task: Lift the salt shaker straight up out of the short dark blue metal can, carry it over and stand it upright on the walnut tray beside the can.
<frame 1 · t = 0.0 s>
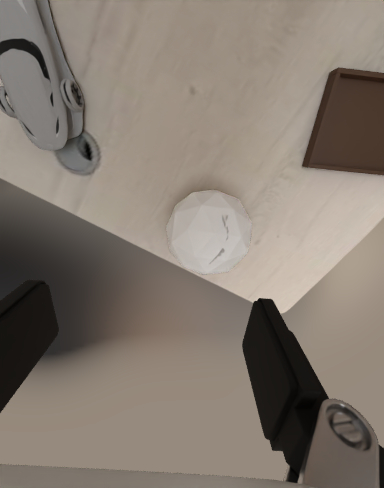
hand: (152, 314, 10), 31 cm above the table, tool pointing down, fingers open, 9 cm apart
geodesic sphere: (206, 220, 40), on the table
car model: (36, 60, 30), on the table
tray: (368, 129, 34), on the table
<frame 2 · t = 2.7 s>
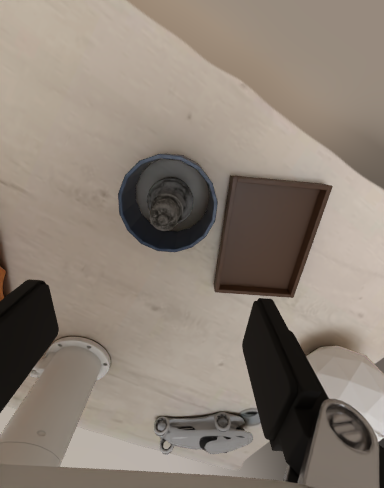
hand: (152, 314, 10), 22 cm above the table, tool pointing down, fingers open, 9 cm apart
salt shaker: (172, 196, 30), resting in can
geodesic sphere: (321, 354, 43), on the table
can: (172, 196, 30), on the table
car model: (202, 424, 53), on the table
tray: (262, 239, 32), on the table
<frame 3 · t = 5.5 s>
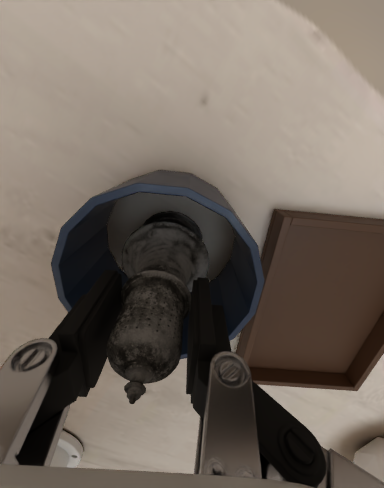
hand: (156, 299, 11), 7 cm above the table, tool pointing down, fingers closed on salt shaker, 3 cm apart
salt shaker: (170, 241, 17), resting in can, touching gripper
geodesic sphere: (376, 443, 31), on the table
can: (170, 242, 17), on the table
tray: (316, 307, 20), on the table
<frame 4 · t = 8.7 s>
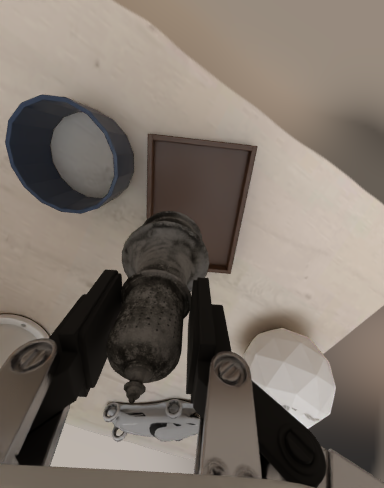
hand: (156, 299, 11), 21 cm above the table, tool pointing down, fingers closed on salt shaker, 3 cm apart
salt shaker: (170, 240, 17), point 14 cm above the table, touching gripper
geodesic sphere: (271, 338, 41), on the table
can: (91, 158, 27), on the table
car model: (156, 411, 52), on the table
tray: (194, 209, 30), on the table
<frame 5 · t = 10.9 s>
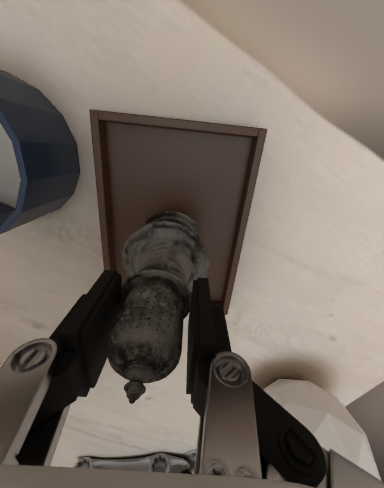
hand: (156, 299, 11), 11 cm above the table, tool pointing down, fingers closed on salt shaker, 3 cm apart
salt shaker: (171, 240, 17), point 4 cm above the table, touching gripper
geodesic sphere: (282, 387, 32), on the table
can: (13, 151, 18), on the table
car model: (139, 465, 42), on the table
tray: (174, 226, 21), on the table
when the fingers open (8 cm above the table, at t = 12.1 s): salt shaker stays where it is, resting on tray.
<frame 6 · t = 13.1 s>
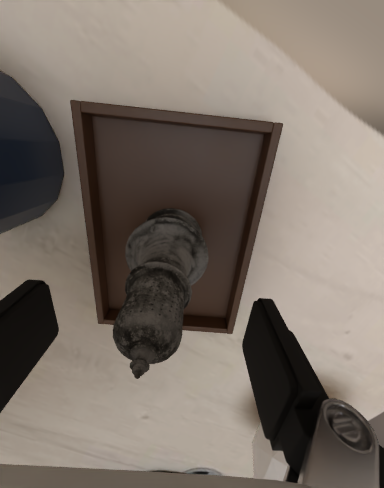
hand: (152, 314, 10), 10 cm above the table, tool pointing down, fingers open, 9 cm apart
salt shaker: (172, 237, 18), resting on tray
geodesic sphere: (290, 406, 29), on the table
tray: (173, 235, 18), on the table
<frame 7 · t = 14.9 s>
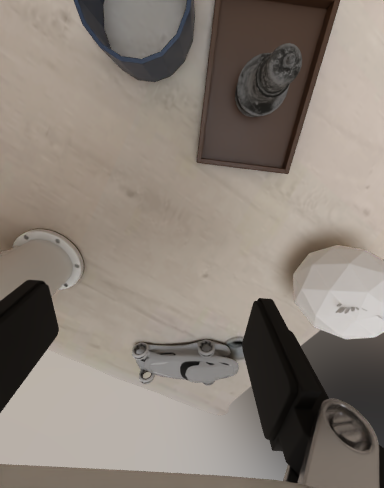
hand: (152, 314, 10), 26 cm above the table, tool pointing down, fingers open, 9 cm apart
salt shaker: (255, 93, 27), resting on tray
geodesic sphere: (318, 266, 38), on the table
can: (147, 23, 25), on the table
car model: (185, 355, 50), on the table
tray: (254, 94, 27), on the table
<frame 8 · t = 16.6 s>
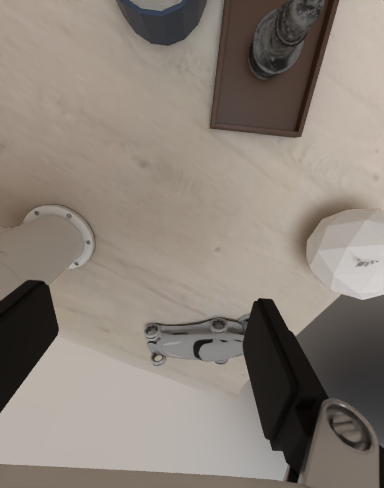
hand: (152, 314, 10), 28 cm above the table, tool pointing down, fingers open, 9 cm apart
salt shaker: (267, 55, 27), resting on tray
geodesic sphere: (329, 236, 39), on the table
car model: (196, 335, 49), on the table
tray: (267, 56, 28), on the table
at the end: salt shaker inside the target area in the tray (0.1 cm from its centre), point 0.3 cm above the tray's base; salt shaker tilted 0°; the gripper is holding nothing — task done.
